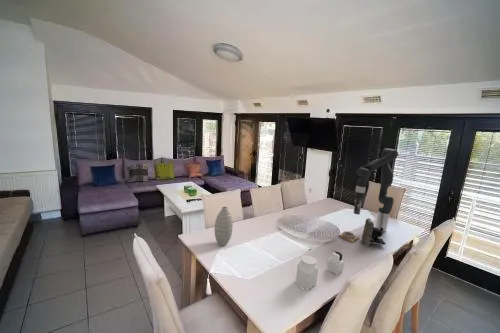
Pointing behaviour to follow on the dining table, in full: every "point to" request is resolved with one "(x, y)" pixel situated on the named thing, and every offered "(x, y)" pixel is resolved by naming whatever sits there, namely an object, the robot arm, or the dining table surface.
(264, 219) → the dining table surface
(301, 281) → the jar
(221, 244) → the vase
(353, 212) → the lens
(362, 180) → the robot arm
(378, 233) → the vintage camera
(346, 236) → the mount
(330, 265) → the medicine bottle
